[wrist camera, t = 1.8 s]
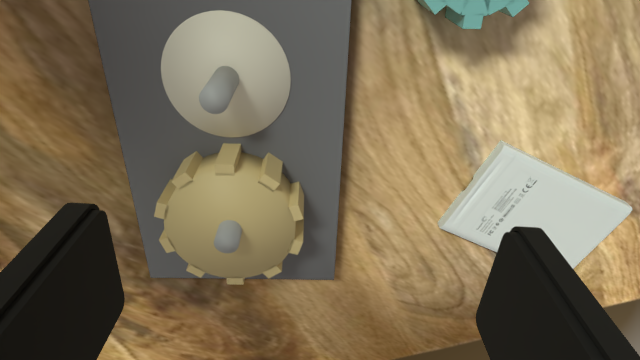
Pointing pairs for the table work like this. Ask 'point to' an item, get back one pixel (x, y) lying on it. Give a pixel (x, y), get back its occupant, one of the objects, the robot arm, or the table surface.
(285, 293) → the table surface
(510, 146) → the external hard drive
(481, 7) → the teal gear
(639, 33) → the table surface
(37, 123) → the table surface
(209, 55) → the gear board
